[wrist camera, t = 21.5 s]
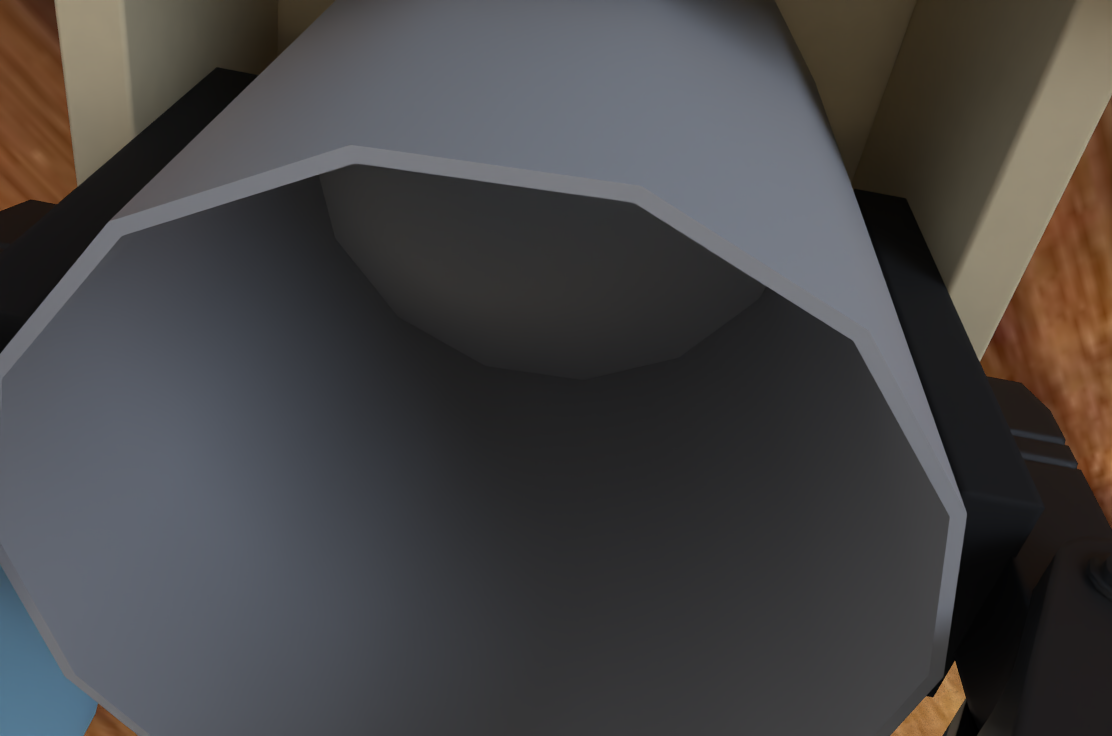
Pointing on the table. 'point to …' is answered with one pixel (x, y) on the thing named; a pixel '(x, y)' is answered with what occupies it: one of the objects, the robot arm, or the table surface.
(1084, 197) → the table surface
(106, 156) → the open pull-out drawer
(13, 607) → the teapot
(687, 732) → the cup
